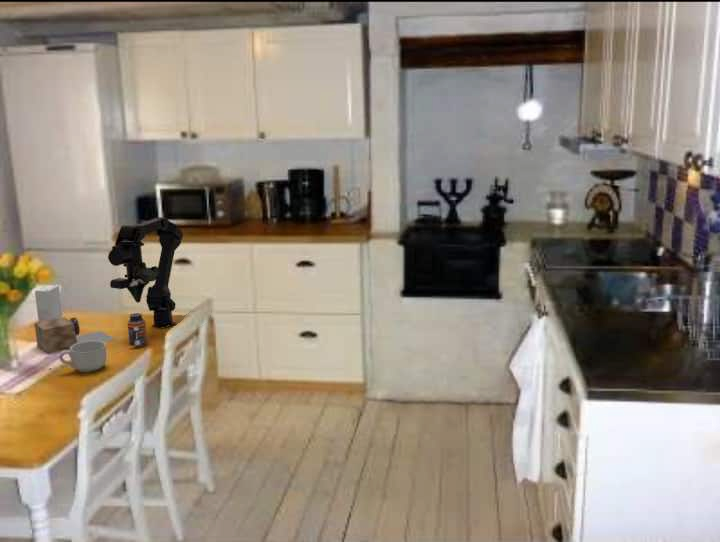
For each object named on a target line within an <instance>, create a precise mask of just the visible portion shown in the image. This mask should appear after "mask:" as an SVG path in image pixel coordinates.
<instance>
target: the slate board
mask: <svg viewBox="0 0 720 542" xmlns="http://www.w3.org/2000/svg"><path fill="white" fill-rule="evenodd" d="M76 340H77V343H79V342H83V341H91V340H96V341H102V342H104V343H108V342H112V341H117V339H116V338H114V337H112V336H111V335H109V334H107V333H106V332H104V331H102V330H98V331H95V332H94V331H93V332H89V333H85V334H81V335H80V334H79V335H77V336H76ZM35 345H36V346H37V344H35ZM37 347H38V346H37ZM66 350H68V351H70V349H66ZM41 351H43V350H42V349H41ZM62 351H64V350H61V351H57V352H52V353H48V354H47V353H46V352H44V353H45V354H47V355H48V356H51V355H55V354H60V353H61V352H62Z"/></svg>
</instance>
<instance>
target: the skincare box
mask: <svg viewBox="0 0 720 542" xmlns="http://www.w3.org/2000/svg"><path fill="white" fill-rule="evenodd" d="M34 297H35V305H36V311H37V319H38V322H43V321H48V320H53V319H58V318H63V317H64V316H63V308H62V303H61V294H60V286H59V285H48V284H47V285H44V286H42V287H39V288H38V289H35V290H34Z"/></svg>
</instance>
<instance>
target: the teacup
mask: <svg viewBox="0 0 720 542" xmlns="http://www.w3.org/2000/svg"><path fill="white" fill-rule="evenodd" d="M106 346H107V342H102V341H96V340H91V341H83V342H79V343H76V344H74V345H72V346H71V347H70V351H68V350H64V351H62V352H61V353H59V355H58V359H59V361H60V362H61V363H62V364H64V365H68V366H70V367H71V368H74V369H75V370H77V371H78V372H82V373H92V372H91V371H93V372H96V371H95V370H97V371H98V369H99V370H101V368H102V367H104V365H105V364H106V362H107V347H106ZM65 354H66V355H68V356H69V358H70V361H68V360H65V359H64V358H63V357H64V355H65Z"/></svg>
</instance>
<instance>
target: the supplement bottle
mask: <svg viewBox="0 0 720 542" xmlns="http://www.w3.org/2000/svg"><path fill="white" fill-rule="evenodd" d="M146 325H147V324H146V320H145V319H143V315H142V313H139V312H138V313H131V314H130V315H129V320H128V322H127V331H128V343H129V345H130V346H134V347H133V348H135V349H137V348H143V347H145V346H147V345H148V337H147V328H146Z"/></svg>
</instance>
